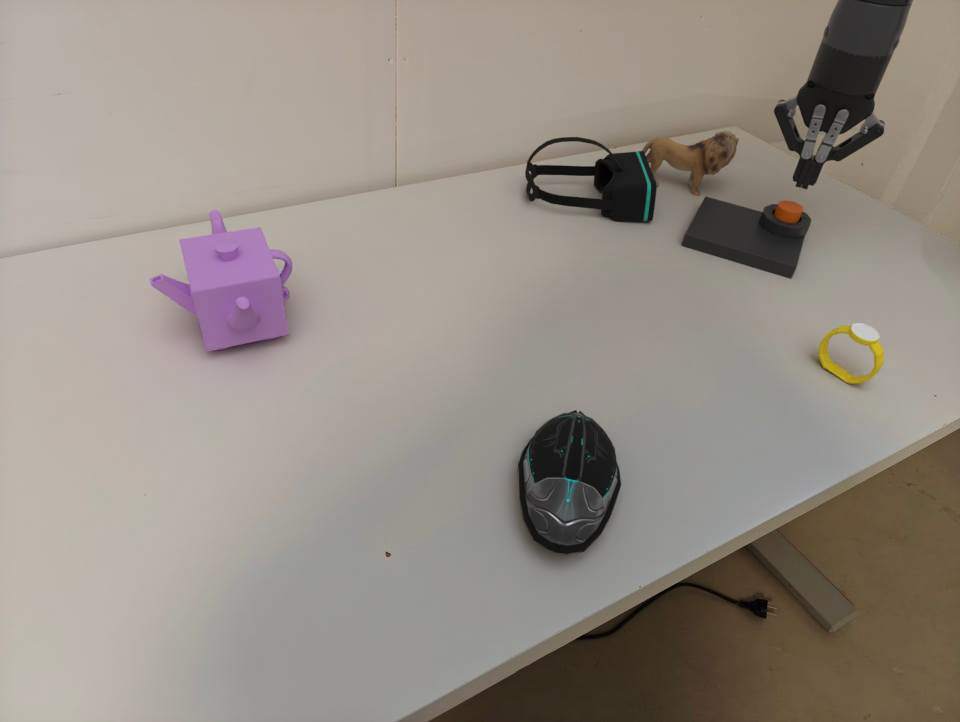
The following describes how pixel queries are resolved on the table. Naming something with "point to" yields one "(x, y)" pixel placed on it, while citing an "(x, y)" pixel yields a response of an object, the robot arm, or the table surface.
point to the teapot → (231, 286)
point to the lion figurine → (693, 156)
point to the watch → (860, 335)
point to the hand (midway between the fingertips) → (801, 185)
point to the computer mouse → (568, 483)
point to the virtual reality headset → (603, 183)
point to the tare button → (788, 211)
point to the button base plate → (747, 236)
